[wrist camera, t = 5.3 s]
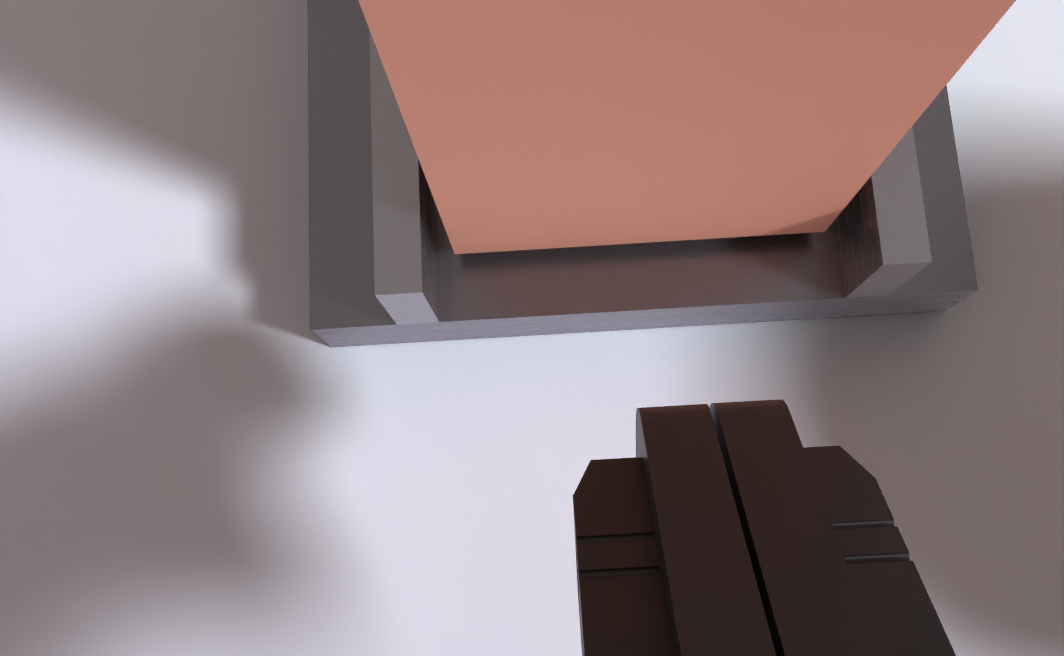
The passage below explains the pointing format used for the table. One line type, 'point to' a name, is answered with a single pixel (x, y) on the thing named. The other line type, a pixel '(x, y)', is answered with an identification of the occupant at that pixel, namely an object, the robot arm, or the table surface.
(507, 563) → the table surface
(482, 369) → the table surface
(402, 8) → the salmon pink block
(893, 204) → the rail base
